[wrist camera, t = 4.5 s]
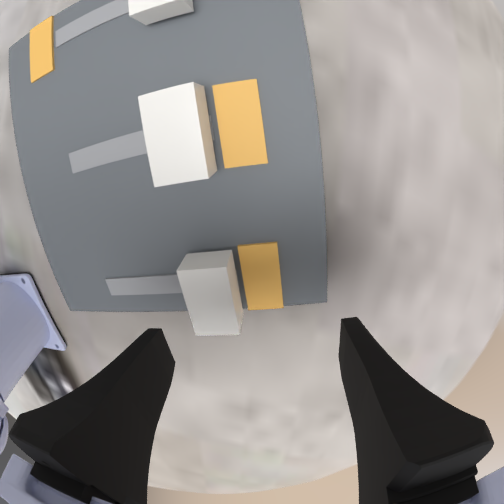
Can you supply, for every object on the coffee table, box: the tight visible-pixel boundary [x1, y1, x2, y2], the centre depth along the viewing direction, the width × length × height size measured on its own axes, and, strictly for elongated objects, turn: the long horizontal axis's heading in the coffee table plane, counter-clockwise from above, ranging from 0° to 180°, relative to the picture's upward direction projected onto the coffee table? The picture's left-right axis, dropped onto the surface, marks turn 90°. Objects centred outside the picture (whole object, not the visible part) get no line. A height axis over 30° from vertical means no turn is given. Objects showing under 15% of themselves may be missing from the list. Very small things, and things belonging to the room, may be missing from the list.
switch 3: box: [176, 250, 244, 336], centre depth 15 cm, size 2×4×2 cm, turn 8°
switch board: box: [9, 0, 327, 312], centre depth 14 cm, size 18×20×1 cm
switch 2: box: [138, 82, 217, 187], centre depth 12 cm, size 2×4×2 cm, turn 8°
